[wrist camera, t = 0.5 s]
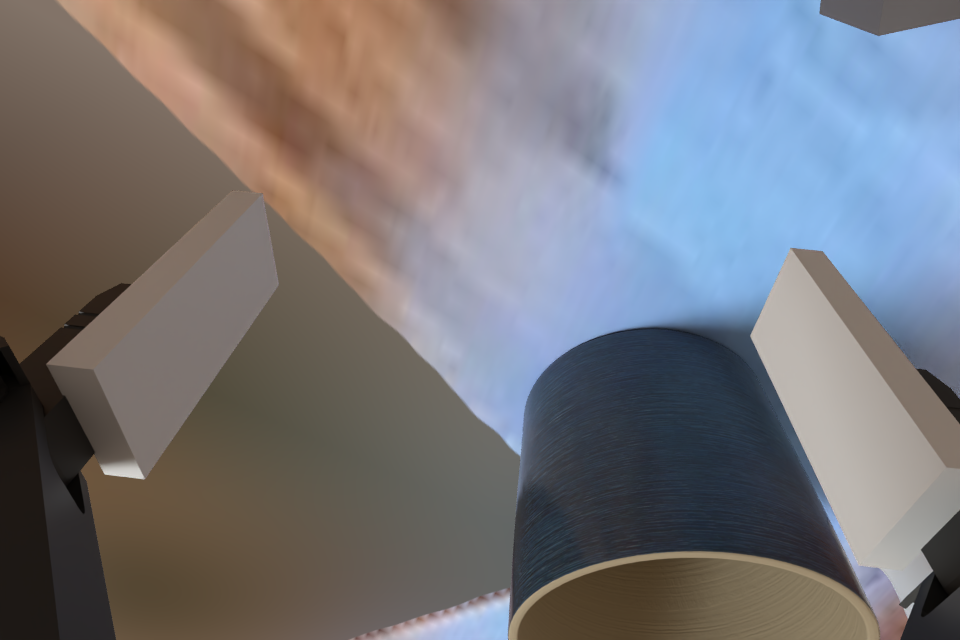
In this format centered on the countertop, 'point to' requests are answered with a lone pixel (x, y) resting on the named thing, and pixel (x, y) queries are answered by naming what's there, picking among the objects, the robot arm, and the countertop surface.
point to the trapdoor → (890, 13)
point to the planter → (670, 505)
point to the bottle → (909, 578)
